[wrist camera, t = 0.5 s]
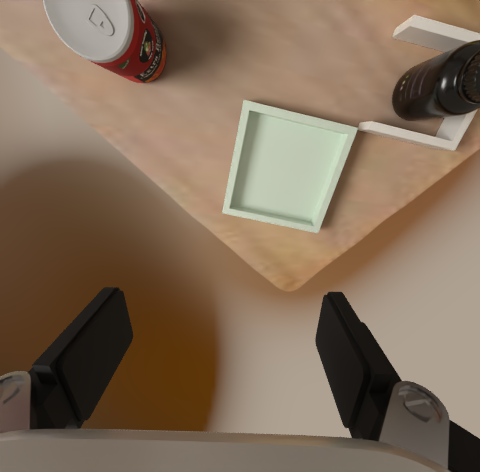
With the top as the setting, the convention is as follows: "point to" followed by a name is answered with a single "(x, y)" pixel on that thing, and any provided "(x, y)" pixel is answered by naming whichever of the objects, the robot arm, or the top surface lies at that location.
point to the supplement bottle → (441, 85)
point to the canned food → (111, 35)
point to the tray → (285, 166)
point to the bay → (441, 40)
